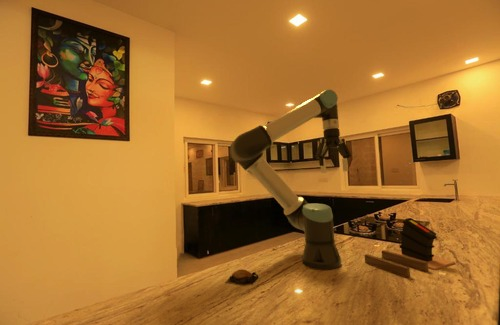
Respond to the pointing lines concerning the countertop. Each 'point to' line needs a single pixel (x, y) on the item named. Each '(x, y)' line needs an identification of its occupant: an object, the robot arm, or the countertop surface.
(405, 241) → the magazine
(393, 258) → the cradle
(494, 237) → the countertop surface
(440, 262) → the mat
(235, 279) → the brown toy turtle
